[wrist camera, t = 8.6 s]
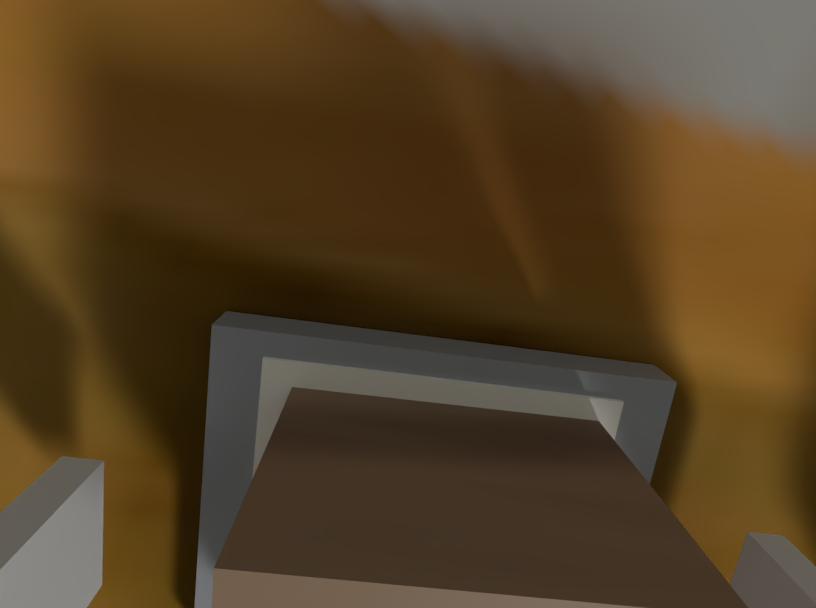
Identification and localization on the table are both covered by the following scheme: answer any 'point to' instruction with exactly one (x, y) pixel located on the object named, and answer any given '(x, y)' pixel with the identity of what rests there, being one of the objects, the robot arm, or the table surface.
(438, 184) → the table surface
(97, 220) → the table surface
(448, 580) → the walnut block
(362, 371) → the slate picture frame
